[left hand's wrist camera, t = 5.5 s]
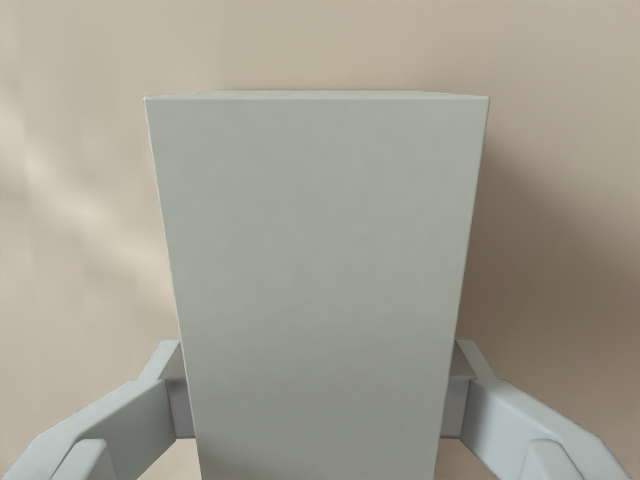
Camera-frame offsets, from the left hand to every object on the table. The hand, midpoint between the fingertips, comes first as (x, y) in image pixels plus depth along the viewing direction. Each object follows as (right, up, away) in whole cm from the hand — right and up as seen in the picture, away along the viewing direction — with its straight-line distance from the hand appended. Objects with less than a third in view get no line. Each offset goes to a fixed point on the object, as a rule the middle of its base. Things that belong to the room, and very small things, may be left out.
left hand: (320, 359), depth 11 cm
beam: (0, -24, +12) cm, 27 cm away
